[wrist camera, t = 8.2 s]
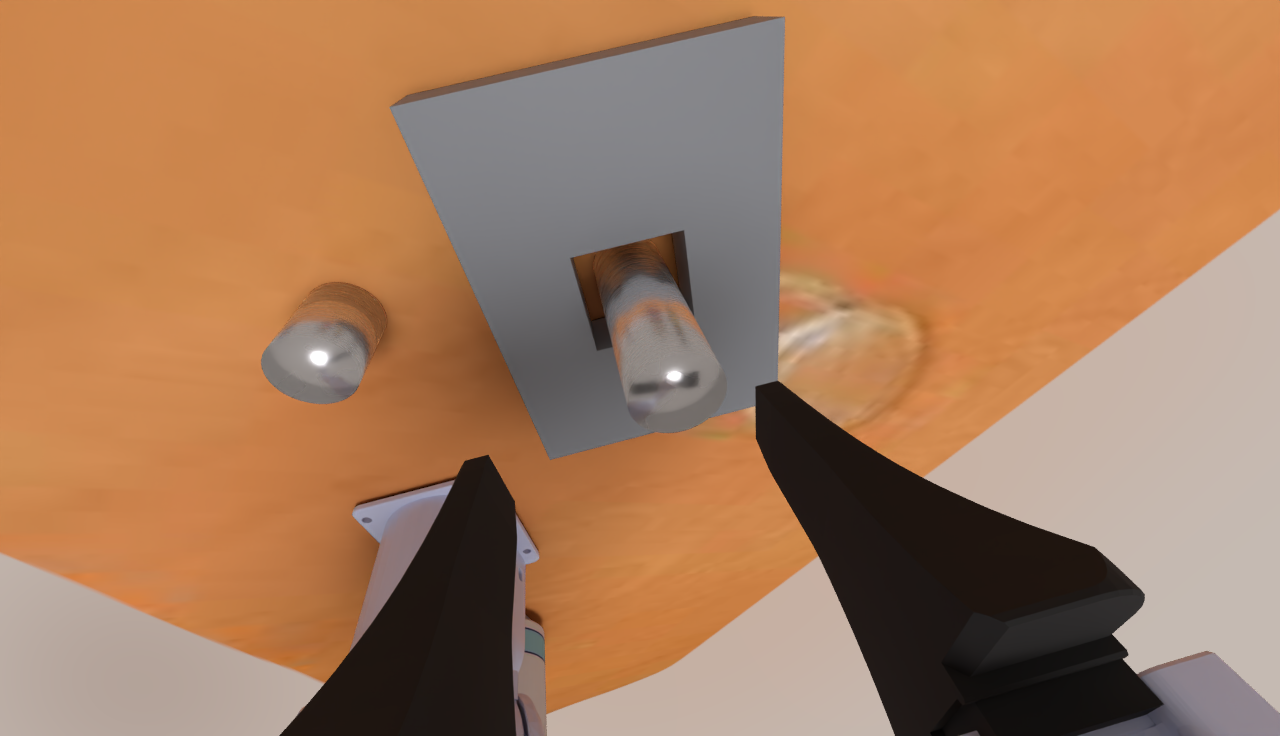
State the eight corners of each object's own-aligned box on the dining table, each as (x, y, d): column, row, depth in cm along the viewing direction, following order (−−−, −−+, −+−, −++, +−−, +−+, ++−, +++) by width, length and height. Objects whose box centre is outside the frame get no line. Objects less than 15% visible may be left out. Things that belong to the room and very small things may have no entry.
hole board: (758, 371, 26) (777, 400, 24) (548, 425, 25) (550, 459, 23) (753, 16, 16) (784, 17, 14) (407, 95, 15) (389, 106, 13)
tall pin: (665, 284, 22) (731, 416, 14) (603, 303, 21) (640, 443, 14) (652, 223, 20) (721, 340, 13) (584, 243, 20) (615, 372, 13)
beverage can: (496, 594, 35) (483, 810, 25) (561, 617, 39) (571, 811, 29) (435, 634, 36) (402, 850, 27) (503, 652, 40) (496, 846, 31)
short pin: (399, 334, 21) (376, 391, 17) (332, 351, 20) (296, 412, 17) (363, 274, 19) (329, 326, 16) (288, 292, 19) (239, 349, 15)
